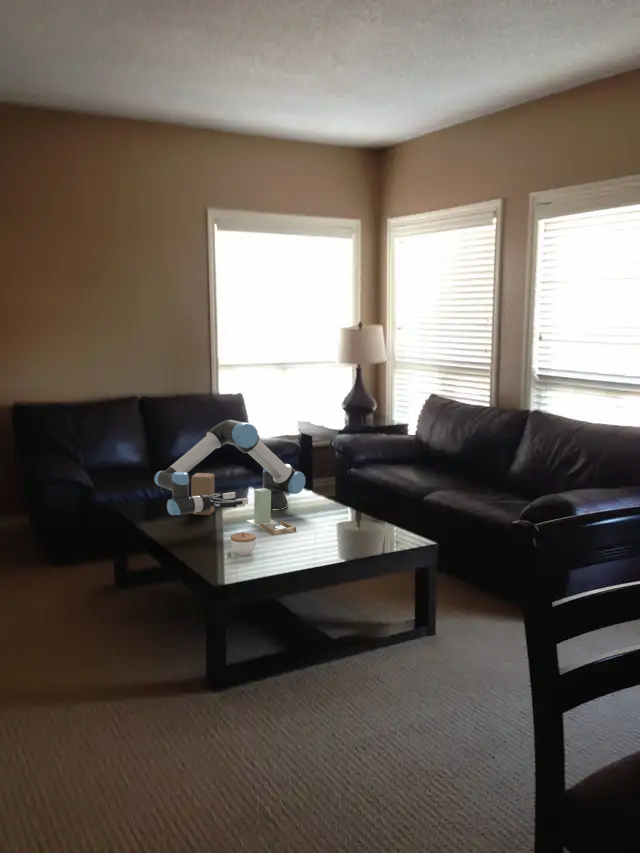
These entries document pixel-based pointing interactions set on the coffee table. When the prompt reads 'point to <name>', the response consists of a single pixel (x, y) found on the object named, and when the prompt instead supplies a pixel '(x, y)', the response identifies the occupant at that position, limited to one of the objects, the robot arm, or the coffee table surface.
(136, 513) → the coffee table surface
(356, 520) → the coffee table surface
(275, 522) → the pad
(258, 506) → the tall block
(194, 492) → the block
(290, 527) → the shallow wooden tray
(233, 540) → the lidded jar
